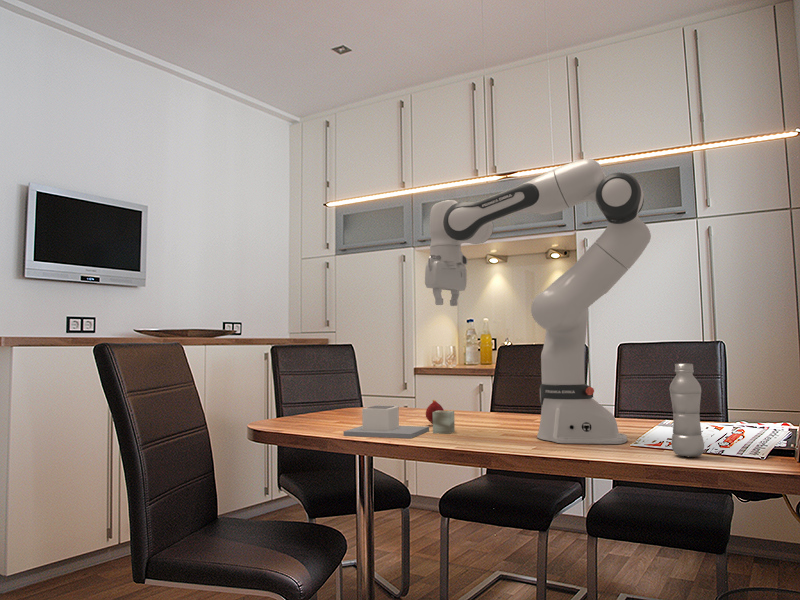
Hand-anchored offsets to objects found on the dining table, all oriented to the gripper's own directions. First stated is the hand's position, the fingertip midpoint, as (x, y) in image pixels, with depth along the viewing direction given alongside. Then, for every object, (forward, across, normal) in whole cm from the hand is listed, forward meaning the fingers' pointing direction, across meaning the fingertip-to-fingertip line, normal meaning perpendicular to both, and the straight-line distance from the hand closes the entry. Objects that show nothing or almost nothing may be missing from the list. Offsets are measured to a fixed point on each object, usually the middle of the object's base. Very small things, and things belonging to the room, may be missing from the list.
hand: (446, 305), depth 177 cm
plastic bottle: (+36, -12, -62) cm, 73 cm away
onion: (+37, +14, +12) cm, 41 cm away
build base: (+36, -7, +16) cm, 40 cm away
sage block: (+36, +1, +2) cm, 36 cm away
